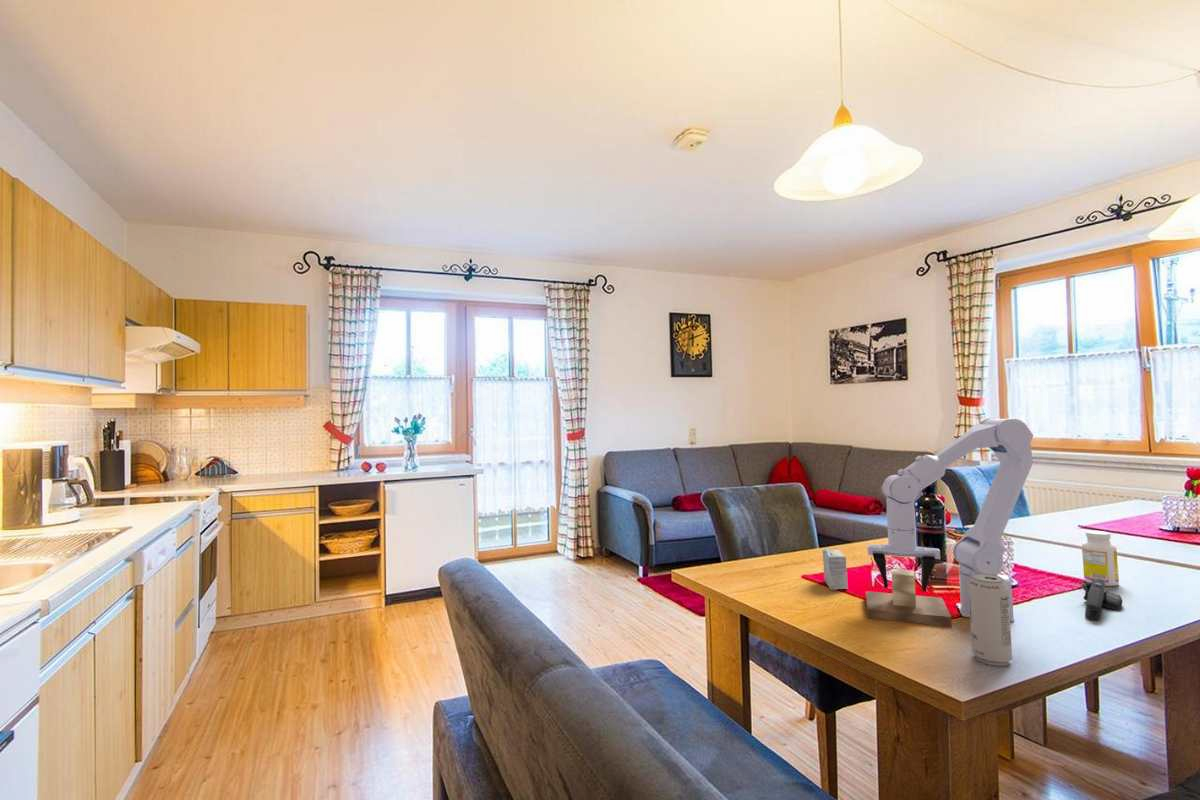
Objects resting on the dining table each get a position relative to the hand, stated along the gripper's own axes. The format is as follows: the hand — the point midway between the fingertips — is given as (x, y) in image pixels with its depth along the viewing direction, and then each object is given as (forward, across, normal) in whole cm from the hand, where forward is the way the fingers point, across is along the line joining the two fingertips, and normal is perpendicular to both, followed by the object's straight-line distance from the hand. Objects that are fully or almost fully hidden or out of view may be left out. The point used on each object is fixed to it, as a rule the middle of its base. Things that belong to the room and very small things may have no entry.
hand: (904, 588), depth 127 cm
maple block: (+3, 0, 0) cm, 3 cm away
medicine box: (+6, +15, -16) cm, 23 cm away
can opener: (+6, -39, -14) cm, 42 cm away
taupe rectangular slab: (+5, 0, 0) cm, 5 cm away
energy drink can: (+6, -12, +22) cm, 26 cm away
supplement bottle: (+6, -47, -37) cm, 60 cm away
